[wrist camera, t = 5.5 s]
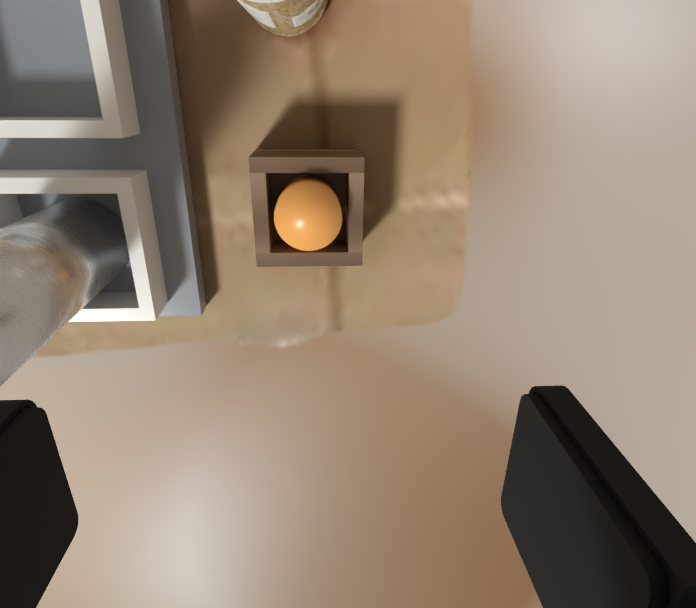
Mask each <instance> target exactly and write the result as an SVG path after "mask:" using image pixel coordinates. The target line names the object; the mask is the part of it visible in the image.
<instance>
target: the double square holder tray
mask: <svg viewBox="0 0 696 608" xmlns="http://www.w3.org/2000/svg"><path fill="white" fill-rule="evenodd" d="M71 198H85V199H90V200H93V201H96V202H99V203H101V204H103V205H105V206H106V207H108V208H109V209H111V210H112V211H113V212H114V213H115V214H117V215H118V217H119V218H120V219H121V220H122V221H123V226H124V231H125V237H126V242H127V247H128V252H129V258H130V259H129V261H128V263H127V265H126V266H125V268H124V269H123V270H122V271H121V272H120V273H119V274H118V275H117V276H116V277H115V278H114V279H113V280H111V281H110V282H109V283H108V284H107V285H106V286H105V287H104V288H103V289H102V290H101V291H100V292H99V293H98V294H97V295H96V296H95V297H94V298H93V299H92V300H90V301H89V302H88V303H87V304H86V305H85V306H84V307H83V308H82V309H81V310H80V311H79V312H78V313H77V314H76V315H75V316H74V317H73V318H72V319H71V320H69V321H68V322H95V321H152V320H156V319H157V318H158V316H202V314H203V312H204V310H205V308H206V298H205V290H204V282H203V274H202V267H201V259H200V251H199V243H198V235H197V227H196V219H195V211H194V203H193V195H192V187H191V179H190V172H189V164H188V156H187V148H186V140H185V132H184V124H183V116H182V108H181V100H180V92H179V84H178V76H177V69H176V61H175V53H174V45H173V37H172V29H171V21H170V13H169V5H168V0H0V229H1V228H3V227H5V226H8V225H10V224H12V223H14V222H16V221H19V220H21V219H23V218H25V217H27V216H30V215H32V214H34V213H36V212H38V211H41V210H43V209H45V208H47V207H49V206H52V205H54V204H56V203H58V202H60V201H63V200H66V199H71Z"/></svg>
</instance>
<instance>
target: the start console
mask: <svg viewBox="0 0 696 608" xmlns="http://www.w3.org/2000/svg"><path fill="white" fill-rule="evenodd" d="M364 162H365V157H364V156H363V154H362V153H361V151H360V150H359V149H256V150H255V151H254V152H253V153H252V154H251V155H250V156H249V168H250V181H251V195H252V208H253V221H254V235H255V248H256V262H257V267H270V266H359V265H362V247H363V205H364ZM303 174H314V175H318V176H321V177H323V178H325V179H326V180H327V181H329V182H330V183H331V184H332V185H333V187H334V188H335V190H336V192H337V194H338V197H339V201H340V206H341V211H342V225H341V228H340V231H339V233H338V235H337V236H336V238H335V239H334V240H333V241H332V242H331V243H330V244H329V245H327V246H326V247H324V248H321V249H318V250H314V251H304V250H299V249H296V248H294V247H292V246H290V245H288V244H287V243H286V242H285V241H284V240H283V239H282V238H281V237H280V235H279V234H278V232H277V229H276V227H275V223H274V211H275V207H276V204H277V201H278V198H279V195H280V192H281V190H282V188H283V187H284V186H285V184H286V183H287V182H288V181H289V180H291V179H292V178H294V177H296V176H299V175H303Z"/></svg>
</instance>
